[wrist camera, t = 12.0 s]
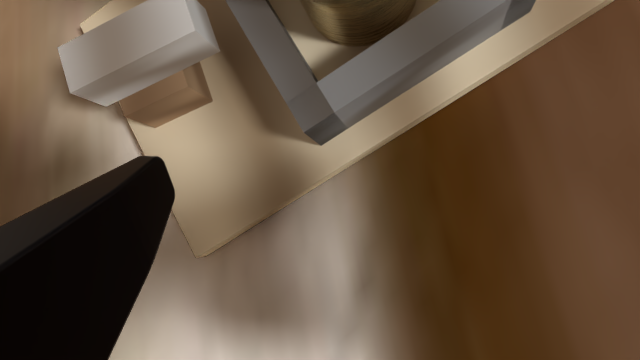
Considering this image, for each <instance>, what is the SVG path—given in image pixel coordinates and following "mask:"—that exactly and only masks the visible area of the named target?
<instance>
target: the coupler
mask: <svg viewBox="0 0 640 360" xmlns="http://www.w3.org/2000/svg"><path fill="white" fill-rule="evenodd" d="M300 2H301V4H302V6H303V8H304V9H305V11H306V13H307V15H308V17H309V19H310V20H311V22H312V24H313V26H314V27H315V28H316V29H317V31H318V32H320V33H321V34H322V35H323V36H324V37H326V38H327V39H329V40H331V41H333V42H335V43H338V44H341V45H345V46H366V45H371V44H374V43H377V42H378V41H380V40H381V39H383V38H384V37H386V36H387V35H389V34H390V33H392V32H393V31H395V30H396V29H398V28H399V27H401V26H402V25H403V24H404V23H405V22H406V20H407V19H408V18H409V16H410V14H411V13H412V11H413V9H414V6H415V4H416V0H300Z"/></svg>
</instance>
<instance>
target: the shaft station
mask: <svg viewBox="0 0 640 360" xmlns="http://www.w3.org/2000/svg"><path fill="white" fill-rule="evenodd" d="M613 1H614V0H416V4H415V6H414V9H413V11H412V13H411V14H410V16H409V18H408V19H407V20H406V22H405V23H404V24H403V25H402V26H401V27H399V28H398V29H396V30H395V31H393V32H392V33H390V34H389V35H387V36H386V37H384V38H383V39H381V40H380V41H378V42H377V43H374V44H371V45H366V46H345V45H341V44H338V43H335V42H333V41H331V40H329V39H327V38H326V37H324V36H323V35H322V34H321V33H320V32H318V31H317V29H316V28H315V27H314V26H313V24H312V22H311V20H310V19H309V17H308V15H307V13H306V11H305V9H304V8H303V6H302V4H301V2H300V0H111V1H110V2H109V3H107V4H106V5H105V6H103V7H102V8H101V9H100V10H98V11H97V12H96V13H94V14H93V15H92V16H90V17H89V18H88V19H86V20H85V21H84V22H82V23H81V24H80V26H81V28H82V30H83V32H84V34H82V35H81V36H79V37H77V38H75V39H73V40H71V41H69V42H67V43H65V44H63V45H62V46H60V47H58V51H59V55H60V58H61V62H62V66H63V69H64V73H65V77H66V80H67V84H68V88H69V91H70V93H71V94H73V95H76V96H79V97H81V98H84V99H87V100H89V101H92V102H95V103H97V104H100V105H103V106H106V107H107V106H109V105H111V104H113V103H115V102H117V101H118V103H119V105H120V107H121V109H122V111H123V114H124V117H126V119H127V121H128V123H129V125H130V127H131V129H132V131H133V133H134V135H135V137H136V139H137V141H138V143H139V145H140V147H141V149H142V151H143V153H144V155H145V156H158V157H160V158H162V159H163V161H164V162H165V165H166V167H167V170H168V173H169V176H170V178H171V181H172V184H173V186H174V190H175V200H174V203H173V206H172V211H173V213H174V215H175V217H176V219H177V221H178V223H179V225H180V227H181V230H182V232H183V234H184V236H185V238H186V240H187V242H188V244H189V246H190V248H191V250H192V252H193V254H194V256H195V258H200V257H206V256H207V255H209V254H210V253H212V252H214V251H215V250H217V249H218V248H220V247H222V246H223V245H225V244H226V243H228V242H230V241H231V240H233V239H234V238H236V237H238V236H239V235H241V234H242V233H244V232H246V231H247V230H249V229H250V228H252V227H254V226H255V225H257V224H258V223H260V222H262V221H263V220H265V219H266V218H268V217H270V216H271V215H273V214H274V213H276V212H278V211H279V210H281V209H282V208H284V207H285V206H287V205H289V204H290V203H292V202H293V201H295V200H297V199H298V198H300V197H301V196H303V195H305V194H306V193H308V192H309V191H311V190H313V189H314V188H316V187H317V186H319V185H321V184H322V183H324V182H325V181H327V180H329V179H330V178H332V177H333V176H335V175H337V174H338V173H340V172H341V171H343V170H345V169H346V168H348V167H349V166H351V165H353V164H354V163H356V162H357V161H359V160H361V159H362V158H364V157H365V156H367V155H369V154H370V153H372V152H373V151H375V150H377V149H378V148H380V147H381V146H383V145H384V144H386V143H388V142H389V141H391V140H392V139H394V138H396V137H397V136H399V135H400V134H402V133H404V132H405V131H407V130H408V129H410V128H412V127H413V126H415V125H416V124H418V123H420V122H421V121H423V120H424V119H426V118H428V117H429V116H431V115H432V114H434V113H436V112H437V111H439V110H440V109H442V108H444V107H445V106H447V105H448V104H450V103H452V102H453V101H455V100H456V99H458V98H460V97H461V96H463V95H464V94H466V93H468V92H469V91H471V90H472V89H474V88H476V87H477V86H479V85H480V84H482V83H483V82H485V81H487V80H488V79H490V78H491V77H493V76H495V75H496V74H498V73H499V72H501V71H503V70H504V69H506V68H507V67H509V66H511V65H512V64H514V63H515V62H517V61H519V60H520V59H522V58H523V57H525V56H527V55H528V54H530V53H531V52H533V51H535V50H536V49H538V48H539V47H541V46H543V45H544V44H546V43H547V42H549V41H551V40H552V39H554V38H555V37H557V36H559V35H560V34H562V33H563V32H565V31H567V30H568V29H570V28H571V27H573V26H575V25H576V24H578V23H579V22H581V21H582V20H584V19H586V18H587V17H589V16H590V15H592V14H594V13H595V12H597V11H598V10H600V9H602V8H603V7H605V6H606V5H608V4H610V3H611V2H613Z"/></svg>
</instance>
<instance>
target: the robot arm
mask: <svg viewBox="0 0 640 360" xmlns="http://www.w3.org/2000/svg"><path fill="white" fill-rule="evenodd" d="M174 200H175V190H174V186H173V184H172V181H171V178H170V176H169V173H168V170H167V167H166V165H165V162H164V161H163V159H162V158H160V157H158V156H139V157H137V158H135V159H133V160H131V161H129V162H127V163H125V164H123V165H121V166H119V167H117V168H115V169H113V170H111V171H109V172H107V173H105V174H103V175H101V176H99V177H97V178H95V179H93V180H91V181H89V182H87V183H85V184H83V185H81V186H79V187H77V188H75V189H73V190H71V191H69V192H68V193H66V194H64V195H62V196H60V197H58V198H56V199H54V200H52V201H50V202H48V203H46V204H44V205H42V206H40V207H38V208H36V209H34V210H32V211H30V212H28V213H26V214H24V215H22V216H20V217H18V218H16V219H14V220H12V221H10V222H8V223H6V224H4V225H2V226H0V360H108V359H109V357H110V355H111V353H112V350H113V348H114V346H115V344H116V342H117V340H118V338H119V335H120V333H121V331H122V329H123V327H124V325H125V323H126V320H127V318H128V316H129V314H130V312H131V310H132V308H133V306H134V303H135V301H136V299H137V297H138V295H139V293H140V291H141V288H142V286H143V284H144V282H145V280H146V278H147V276H148V273H149V271H150V269H151V266H152V264H153V261H154V259H155V256H156V253H157V251H158V248H159V245H160V242H161V239H162V236H163V233H164V230H165V227H166V224H167V221H168V218H169V215H170V212H171V209H172V206H173V203H174Z"/></svg>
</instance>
